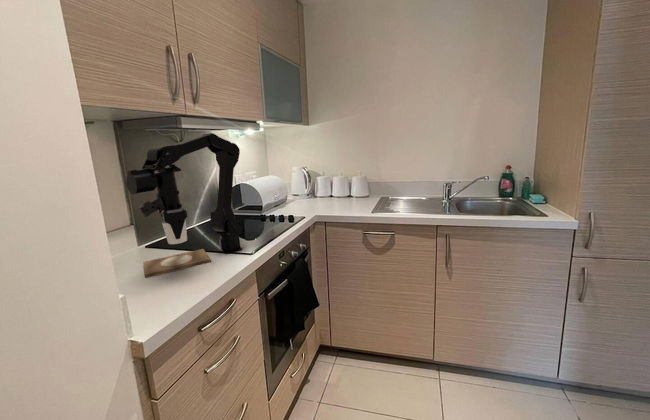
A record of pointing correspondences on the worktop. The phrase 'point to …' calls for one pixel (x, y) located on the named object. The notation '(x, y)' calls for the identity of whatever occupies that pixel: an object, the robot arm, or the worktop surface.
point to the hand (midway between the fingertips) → (176, 236)
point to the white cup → (171, 236)
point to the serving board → (175, 262)
